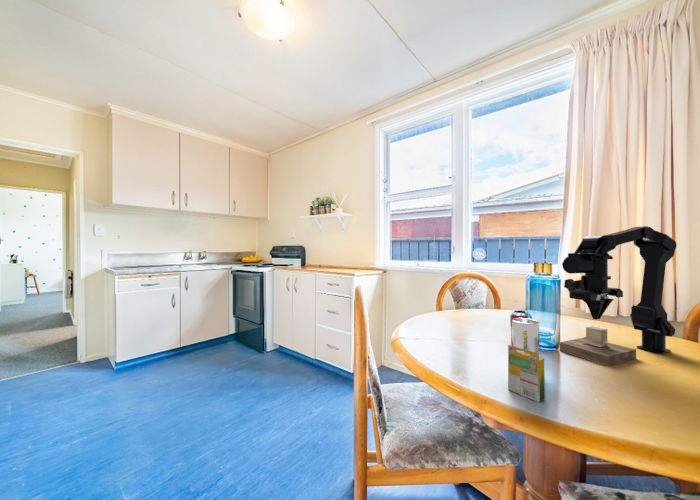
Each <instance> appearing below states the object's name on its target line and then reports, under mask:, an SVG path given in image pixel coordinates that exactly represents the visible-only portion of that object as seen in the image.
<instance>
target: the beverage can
mask: <svg viewBox="0 0 700 500" xmlns="http://www.w3.org/2000/svg"><path fill="white" fill-rule="evenodd" d="M514 318H528V315H527V314H526V313H522V312H513V313H511V315H510V331H511V332H510V336H511V337H510V340H511V341H510V342H511V346H513V342H512V321H513V320H512V319H514ZM528 319H529V318H528Z"/></svg>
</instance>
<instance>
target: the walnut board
mask: <svg viewBox="0 0 700 500" xmlns="http://www.w3.org/2000/svg"><path fill="white" fill-rule="evenodd" d="M607 345H608V347H607V348H606V349H598V348H594V347H590V346H587V345H586V336H584V337H580V338H575V339H568V340H564V341H559V352H563V353H565V354H569V355H572V356H576V357H578V358H582V359H583V360H584V359H585V360H588V361H592V362H594V363H597V364H600V365H603V366H607V367H611V366H614V365H618V364H622V363H625V362H630V361H633V360H636V359H637V348H636V349H635V348H631V347H627V346H625V345H620V344H616V343H612V342H608V341H607Z"/></svg>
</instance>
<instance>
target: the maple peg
mask: <svg viewBox="0 0 700 500" xmlns="http://www.w3.org/2000/svg"><path fill="white" fill-rule="evenodd" d="M585 337H586V345H587V346H590V347H594V348H598V349H606V348H607V347H608V345H607V342H608V328H604V327H600V326H595V325H590V326H586V327H585Z"/></svg>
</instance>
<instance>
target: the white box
mask: <svg viewBox="0 0 700 500" xmlns="http://www.w3.org/2000/svg"><path fill="white" fill-rule="evenodd" d="M512 320H513V321H512V342H513V346H514V347H517V348H521V349H525V350H528V351H532V352H535V353H539V348H540V339H541V338H540V337H541V336H540V335H541V334H540V326H539V325H540V321H539V320H536V319H533V318H532V319H531V318H514V319H512ZM517 351H518V352H521V353H525V354H528V355H530V354H529V353H526V352H524V351H519V350H517Z"/></svg>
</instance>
